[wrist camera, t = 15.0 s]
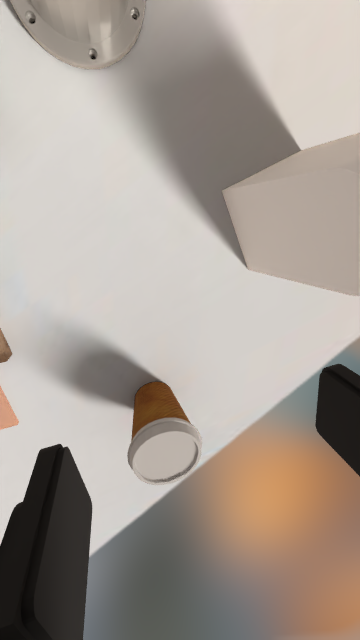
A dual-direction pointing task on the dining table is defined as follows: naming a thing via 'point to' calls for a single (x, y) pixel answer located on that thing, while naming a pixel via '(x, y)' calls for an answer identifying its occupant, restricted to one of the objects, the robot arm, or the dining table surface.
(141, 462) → the disposable coffee cup
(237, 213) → the milk
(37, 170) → the dining table surface
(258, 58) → the dining table surface
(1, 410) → the terracotta tile
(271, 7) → the dining table surface
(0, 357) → the board
